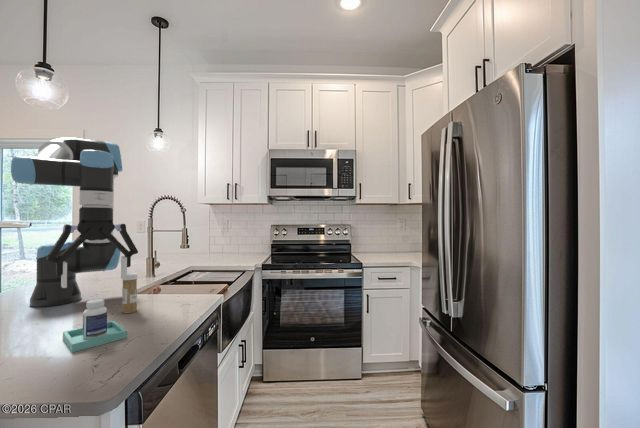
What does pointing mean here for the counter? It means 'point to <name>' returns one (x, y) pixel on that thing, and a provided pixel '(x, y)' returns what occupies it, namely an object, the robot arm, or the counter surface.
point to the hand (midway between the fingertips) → (95, 282)
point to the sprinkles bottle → (129, 293)
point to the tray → (79, 343)
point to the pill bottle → (94, 319)
